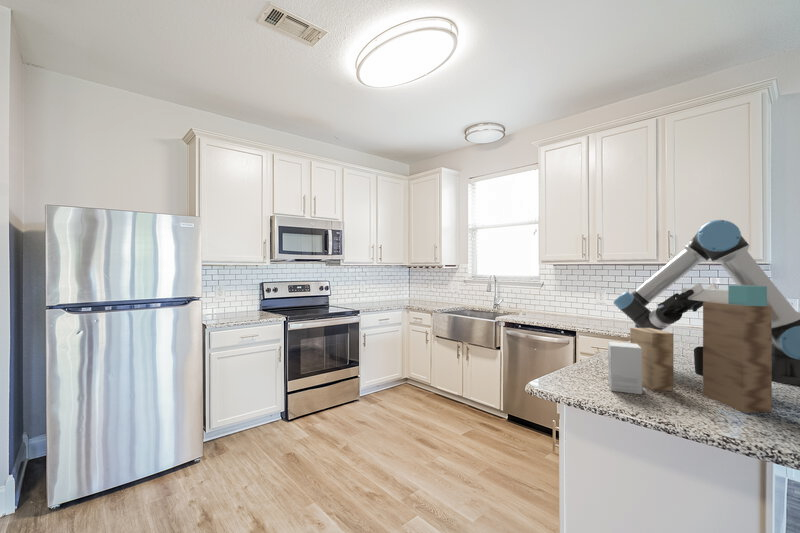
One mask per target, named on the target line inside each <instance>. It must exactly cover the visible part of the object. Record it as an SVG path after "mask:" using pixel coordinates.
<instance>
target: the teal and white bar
mask: <svg viewBox="0 0 800 533" xmlns="http://www.w3.org/2000/svg"><path fill="white" fill-rule="evenodd" d="M691 288H692V287H681V293H685V292H686V291H688V290H689V289H691ZM703 289H704V291H702V292H701V293H699V294H698V295H696V296H695V297H693V298H692V299H688V298H687V299H688V300H696V301H706V302H716V303H726V304H734V305H743V306H767V286H744V285H737V284H736V285H731V284H730V285H728V289H719V288H718V289H705V288H704V287H703Z"/></svg>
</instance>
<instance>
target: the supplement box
mask: <svg viewBox="0 0 800 533" xmlns="http://www.w3.org/2000/svg"><path fill="white" fill-rule="evenodd" d="M607 344H608V346H607V349H608V350H607V351H608V352H607V354H608V355H607V356H608V357H607V358H608V360H607V362H608V367H607V368H608V372H607V374H608V375H607V376H608V379H607V380H608V386H609V389H610V391H611V392H616V393H617V392H620V393H627V394H637V395H643V386H642V348H641V347H640V346H639V345H638V344H633V343H630V342H617V341H607Z"/></svg>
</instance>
